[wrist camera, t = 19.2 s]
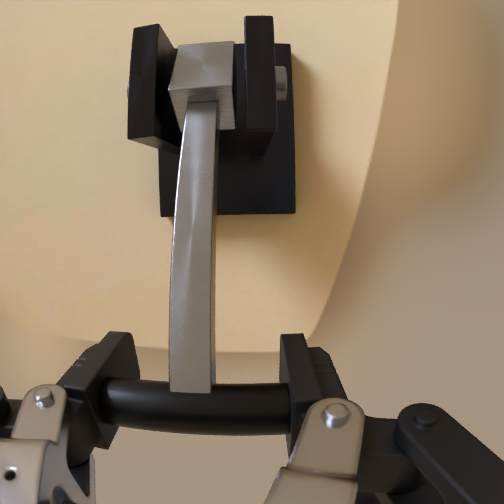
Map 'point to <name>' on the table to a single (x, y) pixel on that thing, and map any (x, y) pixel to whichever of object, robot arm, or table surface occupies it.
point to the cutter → (230, 140)
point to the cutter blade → (197, 278)
